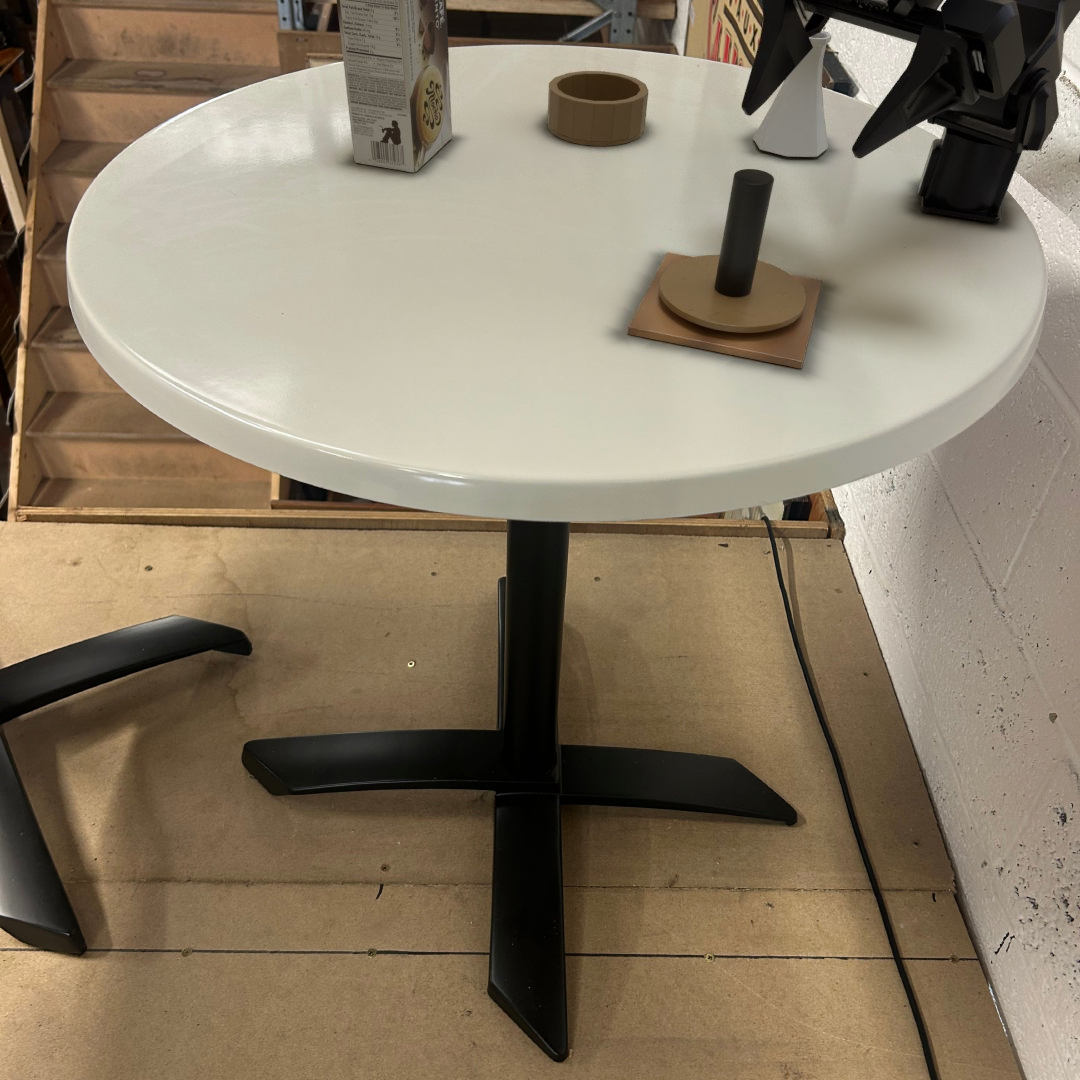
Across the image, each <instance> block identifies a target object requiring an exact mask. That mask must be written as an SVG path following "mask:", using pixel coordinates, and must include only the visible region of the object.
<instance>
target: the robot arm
mask: <svg viewBox="0 0 1080 1080" xmlns="http://www.w3.org/2000/svg"><path fill="white" fill-rule="evenodd" d="M756 1H757V4H758V6H759V8H760V10H761V12H762V24H761V31H760V36H759V41H758V46H757V50H756V53H755V56H754V60H753V64H752V67H751V70H750V74H749V77H748V80H747V84H746V87H745V91H744V95H743V98H742V102H741V109H742V111H743V113H744V115H745V116H748V117H750V116H753V115H754V113H755V112H757V111H758V110H759V109H760V108H761V107H762V106H763V105H764V104H765V103H766V102H767V101H768V100H769V99H770V98H771V96H772V95H774V93H775V92H776V91H777V90H778V88H780V87H781V86H782V84H783V83H784V81H785V79H786V78H787V77H788V76H789V75H790V73H791V72H792V71H793V70H794V69H795V68H796V67H797V66H798V64H799V63H800V62H801V61H802V60H803V59H804V58H805V56H806V55H807V54H808V53H809V52H810V51H811V50H812V48H813V46H812V44H811V41H810V39H809V37H811V36H813V35H816V34H818V33H820V32H821V31H823V30H824V28H825V27H826V25H827V23H828V22H829V21H830V19H833V20H837V21H840V22H843V23H846V24H850V25H853V26H857V27H860V28H864V29H867V30H870V31H874V32H876V33H880V34H883V35H887V36H890V37H894V38H897V39H900V40H903V41H907V42H911V43H914V44H915V47H914V49H913V52H912V55H911V58H910V59H909V62H908V64H907V66H906V68H905V69H904V71H903V72H902V74H901V75H900V76H899V78H898V79H897V80H896V81H895V83H894V85H893V86H892V88H890V90H889V92H888V93H887V94H886V95H885V97H884V98H883V100H882V101H881V102H880V104H879V105H878V107H877V108H876V110H875V111H874V112H873V113H872V115H871V116H870V118H869V119H868V120H867V122H866V123H865V124H864V126H863V127H862V129H861V131H860V133H859V134H858V136H857V138H856V139H855V141H854V143H853V145H852V146H851V147H852V148H851V152H852V154H853V155H854V158H856V159H862V158H865V157H866V156H868V155H869V154H871V153H873V152H874V151H876V150H878V149H879V148H881V147H882V146H884V145H886V144H888V143H889V142H891V141H892V140H894V139H896V138H897V137H899V136H900V135H903V134H904V133H906V132H908V131H909V130H911V129H912V128H915V127H916V126H917V125H919V124H921V123H923V122H925V121H926V123H928V124H930V125H936V126H938V127H939V126H940V127H941V128H942V127H943V131H942V134H941V137H940V138H934V139H933V140H932V143H931V145H930V150H929V152H928V154H927V158H926V161H925V165H924V168H923V170H922V174H921V177H920V180H919V183H918V191H917V192H918V193H917V194H918V196H919V197H920V198H921V204H920V209H921V211H922V212H925V213H931V214H938V215H942V216H943V215H944V216H950V217H956V218H962V219H967V220H975V221H980V222H987V223H993V224H998V223H1000V222H1001V220H1002V205H1003V202H1004V200H1005V197H1006V194H1007V192H1008V189H1009V187H1010V184H1011V182H1012V179H1013V176H1014V174H1015V171H1016V169H1017V166H1018V164H1019V161H1020V159H1021V156H1022V153H1023V151H1027V152H1028V151H1029V152H1030V151H1031V152H1039V151H1041V150H1042V148H1043V146H1044V143H1045V142H1046V141H1047V140H1048V137H1049V136H1050V135H1051V133H1052V131H1053V129H1054V126H1055V124H1056V122H1057V120H1058V119H1059V115H1060V112H1059V111H1060V110H1059V101H1058V93H1057V92H1058V91H1057V80H1058V78H1059V76H1060V75H1061V72H1062V68H1063V67H1062V65H1063V53H1064V41H1065V33H1066V32H1067V30H1068V28H1070V26H1071V24H1072V23H1073V21H1074V20H1075V19H1076V17H1077V16H1078V14H1079V13H1080V0H945V1H944V0H756ZM942 3H943V4H942ZM939 7H940V10H939Z"/></svg>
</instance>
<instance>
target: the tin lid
mask: <svg viewBox="0 0 1080 1080" xmlns="http://www.w3.org/2000/svg"><path fill="white" fill-rule="evenodd" d="M774 182H775V178H774V176H773V175H772V174H771V173H769V172H768V171H765V170H761V169H756V168H743V169H739V170H736V172H734V174H733V179H732V184H731V188H730V189H731V190H730V194H729V201H728V207H727V212H726V218H725V223H724V229H723V235H722V241H721V246H720V252H719V254H706V255H698V256H691V257H692V258H688V259H685V260H682V261H679V262H677V263H675V264H673V265H672V266H670V267H669V268H668V269H666V270H665V271H664V273H663V274H662V276H661V278H660V284H659V294H660V296H661V299H662V300H663V302H664V303H665V305H666V306H667V307H668V308H669V309H671V310H672V311H673V312H674V313H676V314H677V315H679V316H680V317H682V318H684V319H686V320H688V321H690V322H693V323H695V324H698V325H701V326H704V327H707V328H711V329H715V330H721V331H727V332H737V333H756V332H766V331H771V330H775V329H779V328H782V327H784V326H787V325H789V324H791V323H792V322H794V321H795V320H797V319H798V318H799V317H800V316H801V314H802V313H803V311H804V309H805V305H806V293H805V290H804V288H803V287H802V285H801V284H800V283H799V282H798V280H796V279H795V278H794V277H793V276H792V275H793V274H791V275H790V273H789V272H787V271H786V270H784V269H782V268H781V267H778V266H776V265H773V264H770V263H769V262H766V261H762V260H758V258H759V255H760V249H761V245H762V240H763V235H764V231H765V230H764V229H765V226H766V221H767V215H768V211H769V206H770V201H771V198H772V197H771V196H772V193H773V192H772V191H773V187H774Z"/></svg>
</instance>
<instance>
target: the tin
mask: <svg viewBox="0 0 1080 1080" xmlns="http://www.w3.org/2000/svg"><path fill="white" fill-rule="evenodd" d="M547 95H548V96H547V128H548V131H549V132H550V133H551V134H552V135H553V136H555V137H557V138H558V139H560V140H563V141H565V142H569V143H573V144H577V145H583V146H591V147H611V146H619V145H625V144H629V143H631V142H634V141H636V140H638V139H639V138H640V137H642V136H643V133H644V129H645V127H646V120H647V119H646V118H647V109H648V108H647V107H648V100H649V88H648V85H647V84H646V83H645V82H643V81H641V79H638V78H637V77H634V76H631V75H626V74H623V73H619V72H613V71H605V70H603V71H602V70H580V71H573V72H572V71H571V72H567V73H563V74H561V75H558V76H555V77H554V78H552V79H551V80H550V81H549V83H548V93H547Z"/></svg>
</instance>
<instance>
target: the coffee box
mask: <svg viewBox="0 0 1080 1080" xmlns="http://www.w3.org/2000/svg"><path fill="white" fill-rule="evenodd" d="M336 8H337V16H338V25H339V34H340V42H341V52H342V60H343V68H344V69H343V70H344V79H345V88H346V96H347V106H348V115H349V124H350V134H351V141H352V150H353V151H352V153H353V160H354V163H357V164H362V165H367V166H372V167H379V168H385V169H391V170H396V171H401V172H407V173H417V172H418V171H419V170H420V169H421V168H422V167H423V166H425V164H426V163H428V162H429V160H430V159H431V158H432V157H434V156H435V155H436V153H438V152H439V151H440V149H442V148H443V147H444V146H445V145H446V144H447V143H448V142H449V141H450V140H451V139H452V138H453V125H452V105H451V103H452V102H451V83H450V79H451V77H450V57H449V56H450V55H449V54H450V52H449V38H448V37H449V33H448V32H449V31H448V30H449V29H448V11H447V10H448V9H447V0H336Z"/></svg>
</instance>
